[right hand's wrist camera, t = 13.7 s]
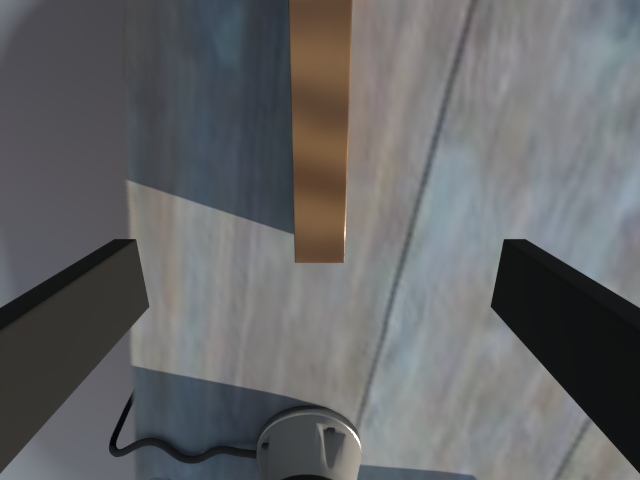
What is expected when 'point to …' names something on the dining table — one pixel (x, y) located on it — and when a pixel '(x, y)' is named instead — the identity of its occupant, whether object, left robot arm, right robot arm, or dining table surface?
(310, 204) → the bar
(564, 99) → the dining table surface
